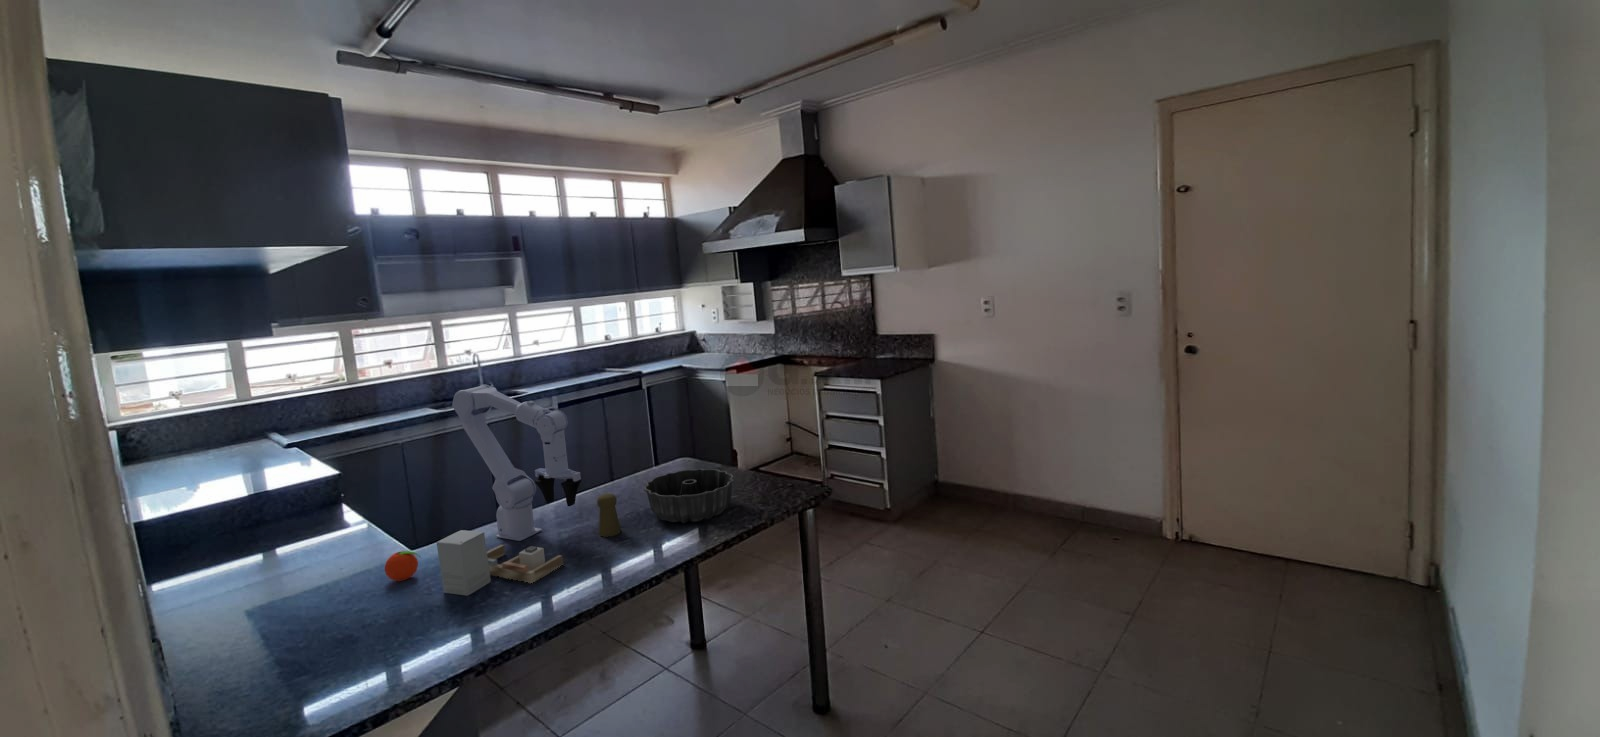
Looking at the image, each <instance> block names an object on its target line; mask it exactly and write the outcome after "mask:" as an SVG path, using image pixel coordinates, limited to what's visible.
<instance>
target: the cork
mask: <svg viewBox="0 0 1600 737" xmlns="http://www.w3.org/2000/svg"><path fill="white" fill-rule="evenodd" d="M596 503H597V506H598V508H599V518H598V521H599V522H598V536H599V535H600V537H601V536H603V537H602V538H611V537H615V536H617V535H619V534H621V531H622V530H621V525H620V522H619V517H618V512H617V508H616V504H617V497H616V495H615V494H614V493H605V494H601V495H599V496H598V497H597V499H596ZM614 535H615V536H614ZM608 536H609V537H608ZM610 536H611V537H610Z"/></svg>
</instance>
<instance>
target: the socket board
mask: <svg viewBox="0 0 1600 737" xmlns="http://www.w3.org/2000/svg"><path fill="white" fill-rule="evenodd" d="M505 549H506V548H505V545H504V544H499V545H498V546H495V547H494V548H491V549H489V550H487V557H488V564H489V572H490V576H492V577H497V576H499V577H498V578H502V577H503V579H507V580H511V579H513V581H516V580H518V582H521V581H524V582H523V583H526V582H528V583H527V584H531V583H532V584H534V583H535V582H537V581H538V580H540V578H541V579H542V578H543V577H545V576H548V575H549V574H551V573H552V571H553V570H554V571H556V570H558V569H559V568H561V567H562V566H561V565H563V566H564V558H563V555H560V554H557V555H556V556H555V557H552V558H551V559H549V560H547V561H545V563H544V564H542V565H540V566H538V567H537V568H535V569H533V570H531V571H530V570H528V566H527V565H522V564H520V558H519V554H518V555H517V556H515V557H512V558H510V559H509V560H507V561H504V562H502V563H501V564H499V563H498V559H499V558H501V557H503V556H505V555H506V550H505ZM560 566H561V567H560ZM558 567H559V568H558ZM557 568H558V569H557ZM555 569H556V570H555ZM554 571H553V572H554ZM550 572H551V573H550ZM508 578H509V579H508ZM533 582H534V583H533Z"/></svg>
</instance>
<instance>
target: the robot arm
mask: <svg viewBox="0 0 1600 737" xmlns="http://www.w3.org/2000/svg"><path fill="white" fill-rule="evenodd" d="M451 406H452V408H453V410H454V411H455V414H457V416H458V417H459V420H460V423H461V426H462V428H463V429H464V431H465V433H466V434H467V436H468V438H469V439H470V441H471V442H472V444H473V446H474V447H475V449H476V450H477V452H478V454H479V455H480V456H481V458H482V460H483V461H484V462H485V464H486V466H487V467H488V469H489V470H490V472H491V473H492V475H493V477H494V479H495V480H494V483H493V485H492V488H491V489H492V490H493V492H494V494H495V498H496V502H497V503H498V504H499V506H498V508H497V510H496V512H495V513H496V515H495V516H496V524H497V533H498V534H496V536H495V537H496V538H501V539H506V540H511V541H519V542H522V541H524V540H526V539H528V538H530V537H531V536H533V535H535V534H538V533H540V532H541V531H542V530H543V529H542V528H539V527H535V521H534V512H533V511H534V510H533V503H532V502H533V501H534V498H533V497H534V496H535V494H536V492H537V487H538V488H539V489H540V492H541V493H542V496H543V497H544V500H545V503H546V504H550V503H553V502H554V501H555V491H554V490H555V488H554V487H555V480H556V479H559V480H565V481H562V482H560V485H561V487H562V489H563V492H564V494H565V502H566V505H567V507H572V506H574V505H575V504H576V497H577V493H578V491H579V490H578V489H579V487H580V484H581V483H582V476H581V472H580V471H575V470H572V469H570V468H569V465H568V455H567V444H566V436H565V429H566V428H567V426H568V424H569V422H568V416H567V415H566V414H565V412H563V411H561V410H560V409H554V410H551V409H549V408H548V407H542V406H539V405H538V404H535V401H533V400H529V401H524V402H523V401H522V402H520V401H518V400H515V399H514V398H512V397H509V396H508V395H506V394H504V393H501V392H500V391H499V390H497V388H496V387H493V386H490V385H488V384H481V385H480V386H476V387H471V388H468V389H461V390H458V391H457V392H455V394H454V396H453V399H452V405H451ZM492 408H496V409H498V410H501V411H503V412H507V413H509V414H513V415H515V418H516V421H518V422H520V423H523V424H525V425H528V426H530V427H532V428H534V429H536V431H537V433H538V434H539V436H540V440H541V441H542V450H543V456H544V457H543V458H544V465H545V466H544V467H545V468H537V469H535V470H534V475H535V478H537V479H535V481H534V480H533V479H532V478H531V477H530V476H528V475H527V474H526V472H525V470H522V469H519V468H515V466H514V465H513V463H512V462H511V460H510V459H509V457H508V455H507V454H506V453H505V451H504V449H503V447H502V446H501V444H500V443H499V441H498V440H497V438H496V436H495V435H494V434H493V432H492V430H491V429H490V428H489V425H488V423H486V419H487V416H488V415H489V413H490V411H491V410H492Z"/></svg>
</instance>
